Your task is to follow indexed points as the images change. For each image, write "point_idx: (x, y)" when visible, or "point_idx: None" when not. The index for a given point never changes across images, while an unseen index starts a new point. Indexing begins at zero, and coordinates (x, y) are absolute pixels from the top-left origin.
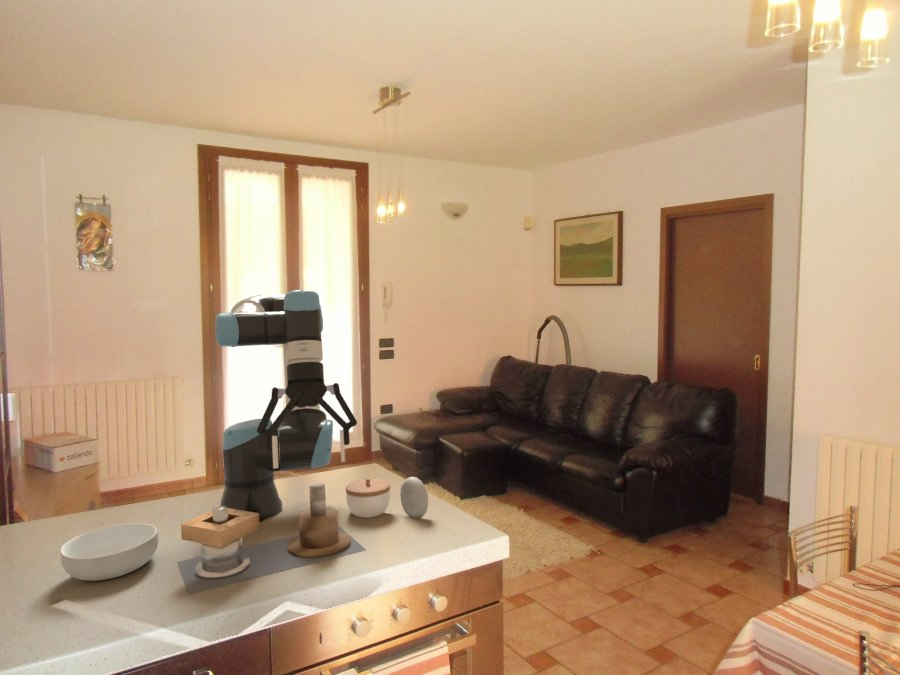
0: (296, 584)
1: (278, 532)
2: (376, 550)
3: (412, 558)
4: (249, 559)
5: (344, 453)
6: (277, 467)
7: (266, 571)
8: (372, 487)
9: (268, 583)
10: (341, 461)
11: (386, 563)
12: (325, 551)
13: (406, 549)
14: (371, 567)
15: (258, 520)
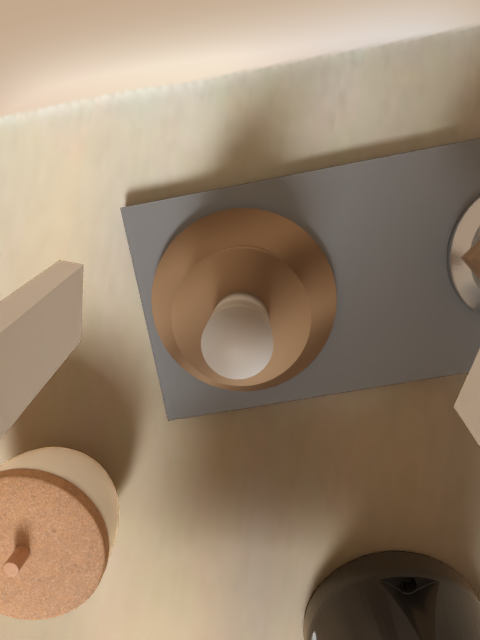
0: (336, 100)
1: (334, 474)
2: (92, 233)
3: (5, 135)
4: (453, 251)
5: (35, 277)
6: (475, 361)
7: (411, 176)
8: (10, 516)
9: (405, 139)
10: (81, 264)
11: (81, 133)
12: (238, 217)
13: (9, 204)
14: (126, 124)
15: (477, 256)
